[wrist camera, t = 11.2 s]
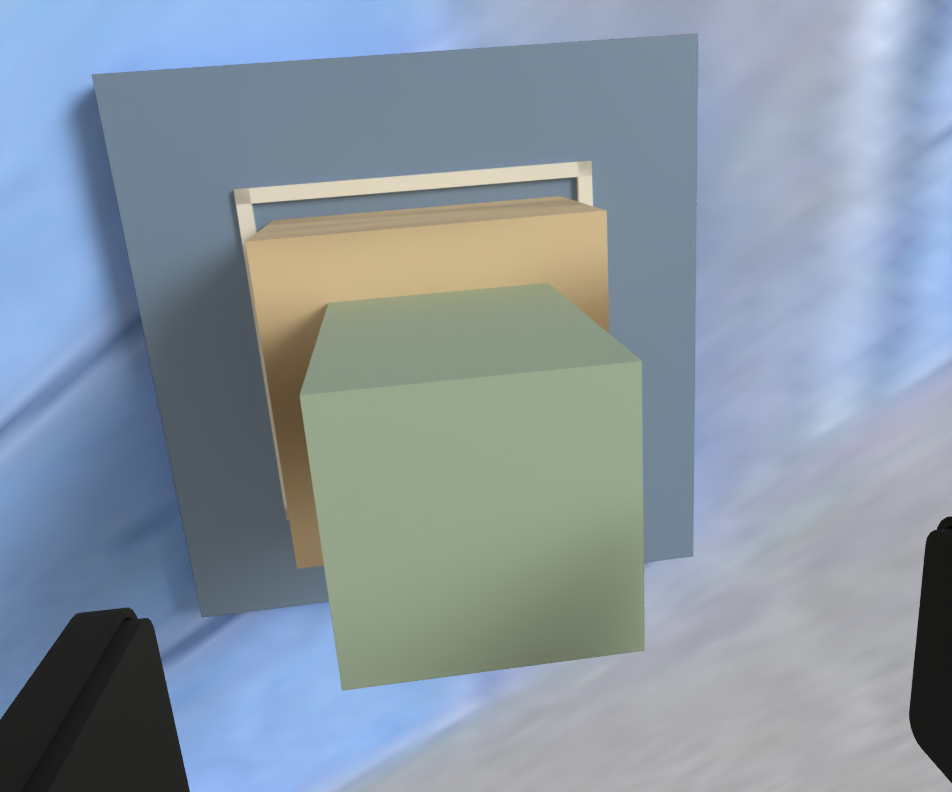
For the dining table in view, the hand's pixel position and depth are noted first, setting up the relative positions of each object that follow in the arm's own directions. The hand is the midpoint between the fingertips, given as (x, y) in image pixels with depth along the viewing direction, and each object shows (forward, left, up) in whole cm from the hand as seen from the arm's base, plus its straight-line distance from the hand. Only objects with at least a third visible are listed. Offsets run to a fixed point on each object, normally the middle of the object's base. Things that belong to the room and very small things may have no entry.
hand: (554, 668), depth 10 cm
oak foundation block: (0, +1, -15) cm, 15 cm away
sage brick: (0, 0, -10) cm, 10 cm away
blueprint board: (0, +1, -16) cm, 16 cm away
